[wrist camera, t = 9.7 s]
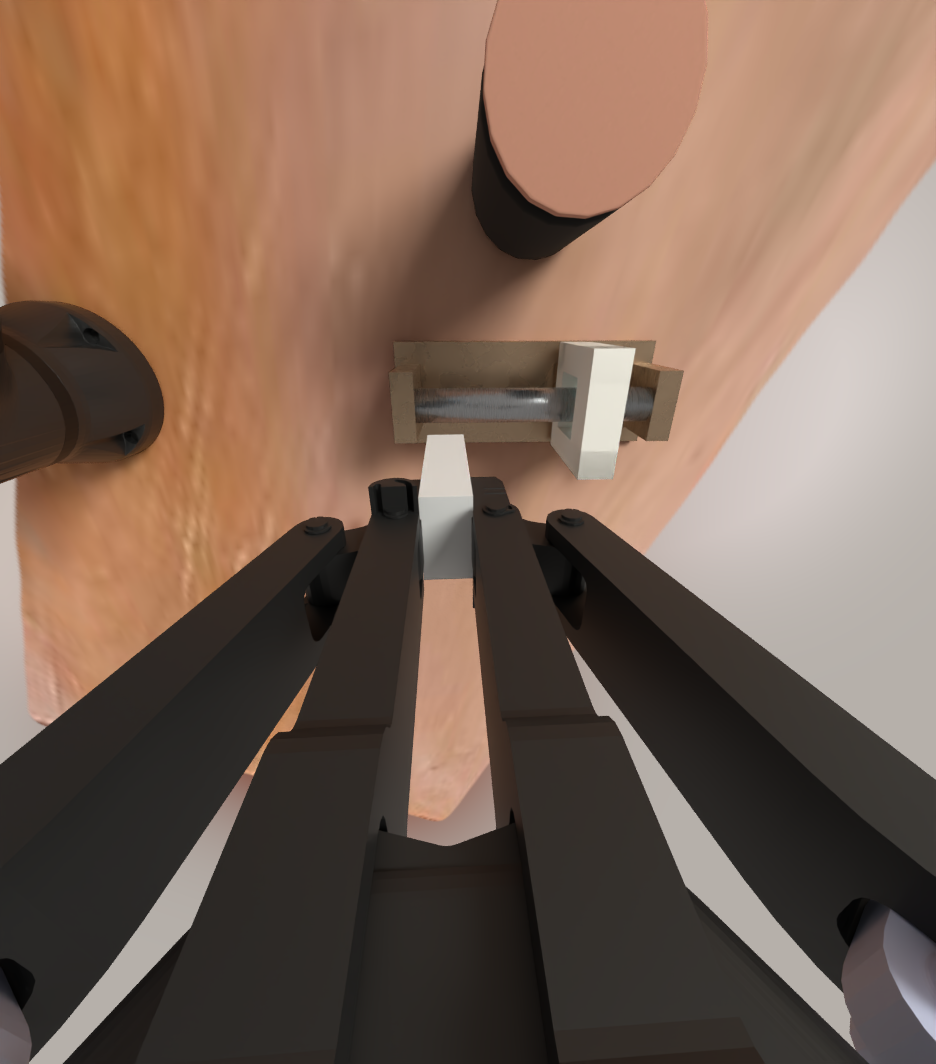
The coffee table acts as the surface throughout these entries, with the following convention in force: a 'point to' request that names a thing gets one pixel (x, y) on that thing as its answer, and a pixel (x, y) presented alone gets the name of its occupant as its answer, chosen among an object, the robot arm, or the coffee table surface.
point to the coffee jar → (580, 112)
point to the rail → (513, 391)
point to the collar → (592, 406)
